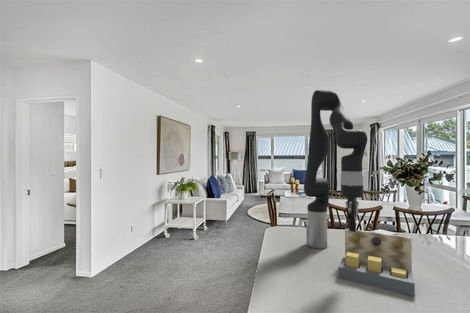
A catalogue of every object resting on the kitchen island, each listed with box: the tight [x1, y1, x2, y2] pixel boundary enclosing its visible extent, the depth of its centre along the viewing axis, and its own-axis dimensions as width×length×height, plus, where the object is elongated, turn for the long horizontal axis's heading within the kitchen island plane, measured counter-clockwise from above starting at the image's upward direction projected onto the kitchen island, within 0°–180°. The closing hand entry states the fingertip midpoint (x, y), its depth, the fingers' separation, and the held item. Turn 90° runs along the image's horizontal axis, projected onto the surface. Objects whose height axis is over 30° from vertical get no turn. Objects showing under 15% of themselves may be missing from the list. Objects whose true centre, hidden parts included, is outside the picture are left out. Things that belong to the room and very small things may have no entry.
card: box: [344, 228, 413, 271], centre depth 95 cm, size 22×4×14 cm, turn 57°
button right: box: [392, 267, 406, 278], centre depth 82 cm, size 4×4×5 cm
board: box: [337, 257, 416, 297], centre depth 86 cm, size 22×10×4 cm, turn 57°
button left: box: [346, 252, 359, 268], centre depth 89 cm, size 4×4×5 cm
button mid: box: [368, 256, 382, 273], centre depth 86 cm, size 4×4×5 cm
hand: (352, 231), depth 90 cm, fingers closed
